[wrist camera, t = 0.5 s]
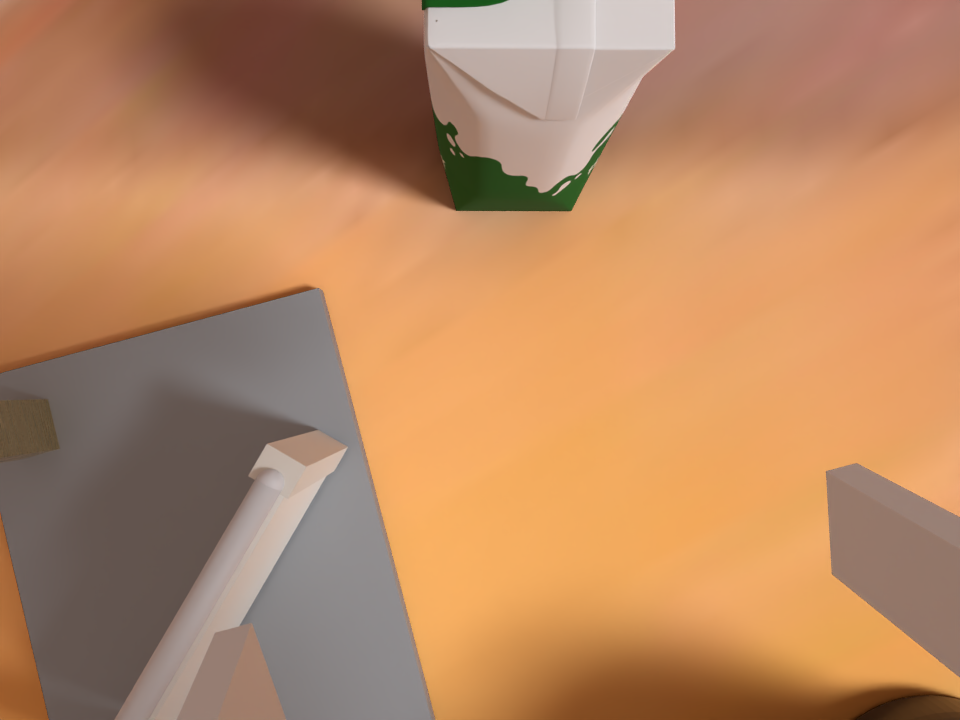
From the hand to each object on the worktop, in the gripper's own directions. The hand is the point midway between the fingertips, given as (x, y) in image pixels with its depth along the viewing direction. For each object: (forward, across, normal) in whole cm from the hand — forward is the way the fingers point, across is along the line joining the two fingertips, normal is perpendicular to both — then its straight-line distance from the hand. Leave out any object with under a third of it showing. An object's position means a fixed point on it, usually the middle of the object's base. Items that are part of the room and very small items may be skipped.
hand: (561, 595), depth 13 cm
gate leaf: (+20, +14, +9) cm, 26 cm away
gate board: (+22, +17, +8) cm, 29 cm away
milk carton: (+27, -6, -11) cm, 29 cm away
